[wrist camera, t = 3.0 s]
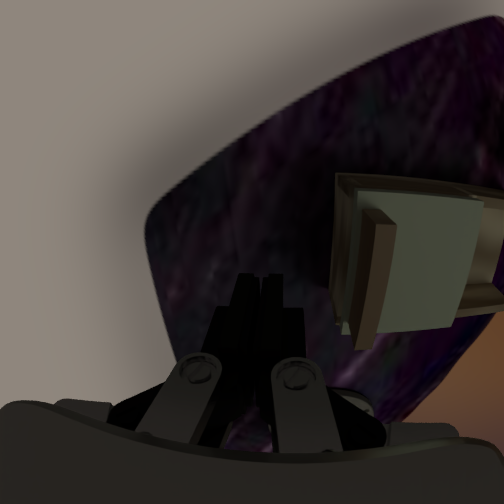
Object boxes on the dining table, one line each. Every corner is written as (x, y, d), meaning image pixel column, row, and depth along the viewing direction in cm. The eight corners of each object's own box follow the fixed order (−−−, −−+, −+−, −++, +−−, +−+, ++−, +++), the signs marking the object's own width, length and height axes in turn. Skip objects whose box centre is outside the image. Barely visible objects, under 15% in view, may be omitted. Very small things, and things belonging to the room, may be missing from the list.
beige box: (483, 284, 20) (507, 310, 15) (328, 289, 22) (335, 324, 17) (504, 190, 16) (537, 205, 12) (335, 172, 18) (349, 184, 14)
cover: (446, 319, 16) (464, 348, 13) (339, 326, 17) (346, 361, 14) (476, 198, 13) (508, 214, 10) (354, 187, 14) (371, 203, 11)
